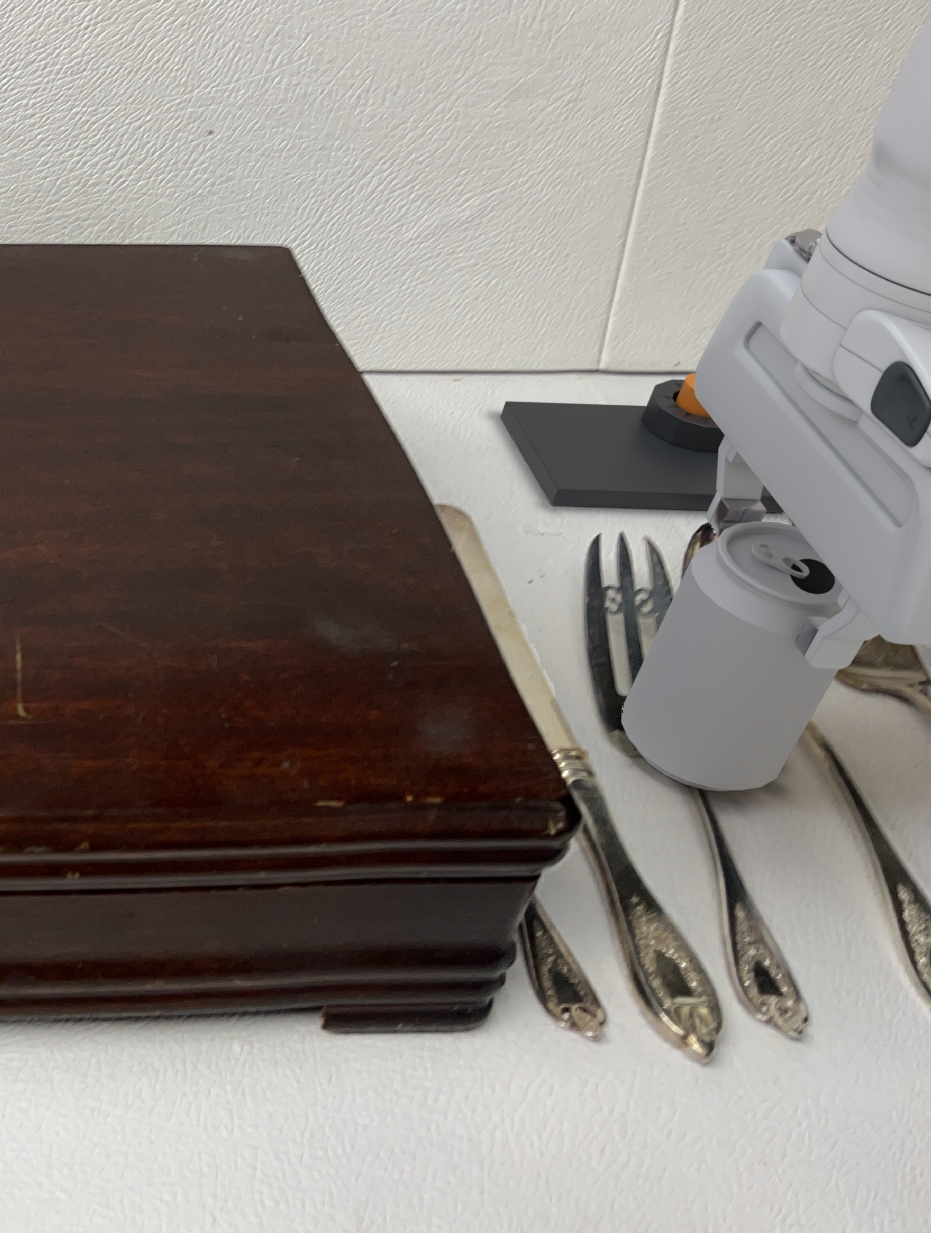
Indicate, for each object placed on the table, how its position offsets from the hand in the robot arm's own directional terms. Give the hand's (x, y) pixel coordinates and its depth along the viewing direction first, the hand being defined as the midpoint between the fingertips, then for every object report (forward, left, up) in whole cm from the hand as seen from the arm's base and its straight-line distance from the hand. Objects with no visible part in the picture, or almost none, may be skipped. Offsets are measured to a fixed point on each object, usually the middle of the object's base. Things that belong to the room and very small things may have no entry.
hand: (770, 591), depth 73 cm
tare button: (-11, -28, -7) cm, 31 cm away
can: (0, 0, -10) cm, 10 cm away
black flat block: (-7, -26, -10) cm, 29 cm away
